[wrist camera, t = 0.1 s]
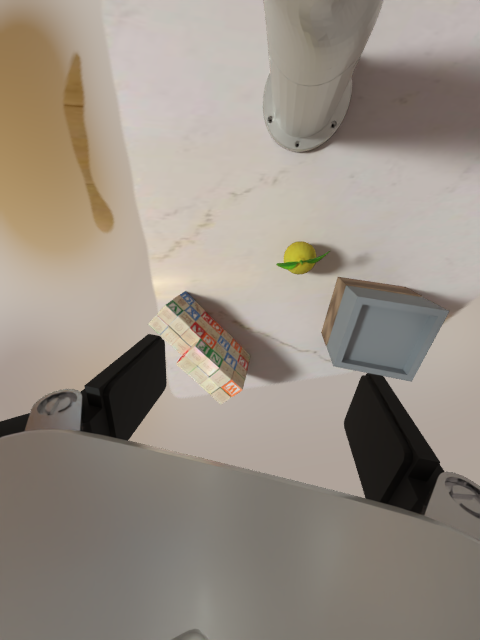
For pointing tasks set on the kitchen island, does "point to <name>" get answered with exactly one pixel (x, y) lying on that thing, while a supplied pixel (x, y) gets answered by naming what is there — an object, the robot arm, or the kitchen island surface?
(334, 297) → the tower base block
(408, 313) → the tower top block
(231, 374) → the stack of blocks
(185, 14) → the kitchen island surface
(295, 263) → the lemon
